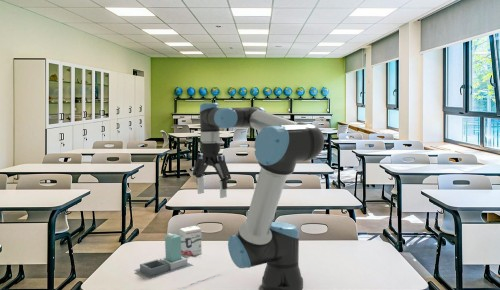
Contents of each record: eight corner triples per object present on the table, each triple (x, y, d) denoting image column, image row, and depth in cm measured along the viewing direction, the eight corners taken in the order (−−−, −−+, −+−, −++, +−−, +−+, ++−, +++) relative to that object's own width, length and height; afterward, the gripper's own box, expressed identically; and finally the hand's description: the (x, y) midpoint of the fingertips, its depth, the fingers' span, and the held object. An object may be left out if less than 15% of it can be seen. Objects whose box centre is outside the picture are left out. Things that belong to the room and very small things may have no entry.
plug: (181, 264, 188) (180, 233, 187) (172, 267, 185) (171, 236, 184) (175, 261, 191) (174, 231, 190) (165, 264, 188) (165, 233, 187)
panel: (193, 268, 188) (193, 259, 187) (150, 281, 174) (150, 272, 174) (176, 260, 196) (176, 252, 196) (134, 273, 183) (133, 264, 182)
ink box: (184, 257, 200) (183, 231, 198) (179, 254, 204) (178, 228, 202) (202, 254, 204) (201, 228, 203) (196, 250, 208) (196, 225, 207)
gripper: (239, 142, 176) (240, 197, 178) (197, 140, 194) (199, 190, 196) (224, 144, 171) (226, 200, 173) (183, 141, 189) (184, 193, 190)
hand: (211, 195), depth 184 cm, fingers open, 13 cm apart
